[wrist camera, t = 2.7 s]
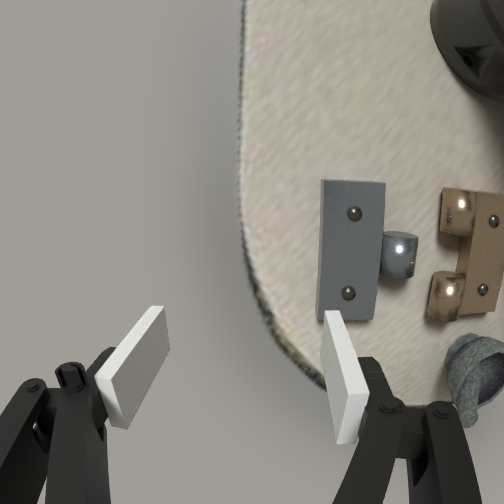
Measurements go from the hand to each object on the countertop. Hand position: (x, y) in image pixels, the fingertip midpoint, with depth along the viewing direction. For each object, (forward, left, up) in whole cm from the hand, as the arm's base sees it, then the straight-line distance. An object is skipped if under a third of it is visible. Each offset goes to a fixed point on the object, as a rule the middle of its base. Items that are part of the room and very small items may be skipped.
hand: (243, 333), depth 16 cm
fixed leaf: (0, +24, -17) cm, 30 cm away
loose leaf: (0, +11, -17) cm, 21 cm away
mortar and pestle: (+14, +27, -18) cm, 35 cm away
